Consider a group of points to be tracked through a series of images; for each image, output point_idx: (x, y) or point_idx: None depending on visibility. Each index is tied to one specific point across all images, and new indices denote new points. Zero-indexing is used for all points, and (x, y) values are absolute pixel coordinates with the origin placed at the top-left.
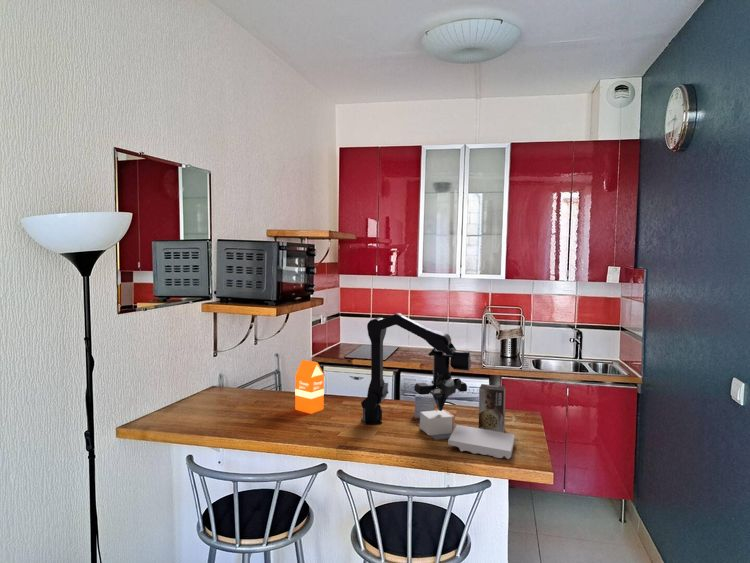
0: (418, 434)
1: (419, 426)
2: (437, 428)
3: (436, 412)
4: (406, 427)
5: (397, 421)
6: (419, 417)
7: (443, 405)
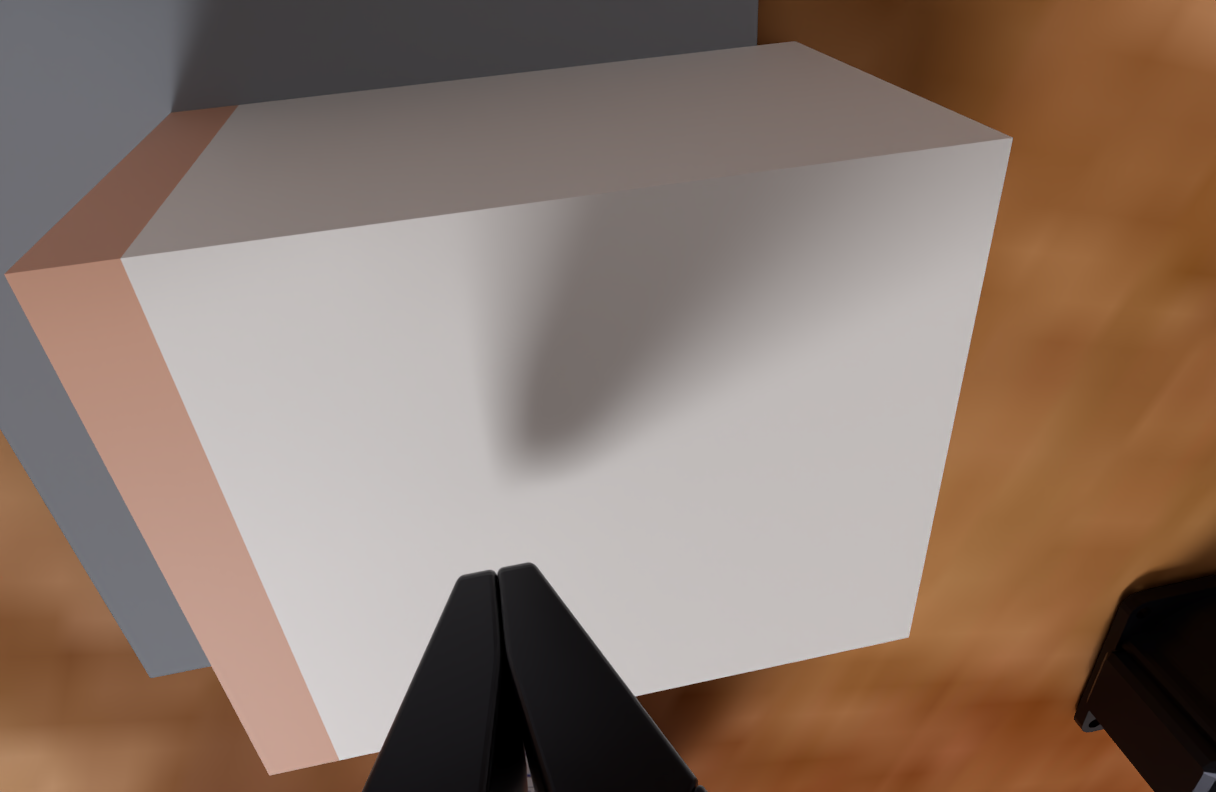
0: None
1: None
2: (632, 91)
3: None
4: None
5: (916, 654)
6: None
7: (410, 724)
